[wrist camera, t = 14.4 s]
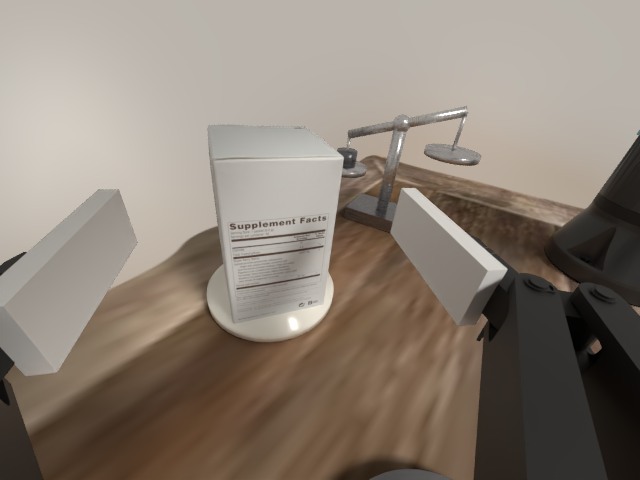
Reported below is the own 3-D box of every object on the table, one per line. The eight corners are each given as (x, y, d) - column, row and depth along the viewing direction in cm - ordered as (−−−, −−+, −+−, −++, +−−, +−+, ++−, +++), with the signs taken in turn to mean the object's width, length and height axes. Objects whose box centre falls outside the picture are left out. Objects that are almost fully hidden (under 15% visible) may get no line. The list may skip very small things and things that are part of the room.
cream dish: (351, 282, 32) (352, 273, 32) (287, 370, 23) (287, 361, 22) (263, 244, 37) (263, 236, 36) (179, 304, 27) (176, 294, 27)
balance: (450, 230, 45) (499, 108, 35) (443, 251, 40) (500, 113, 30) (331, 194, 53) (344, 86, 43) (312, 207, 48) (322, 87, 38)
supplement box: (223, 264, 31) (205, 122, 23) (299, 253, 34) (307, 124, 26) (230, 327, 24) (207, 155, 16) (325, 307, 27) (347, 153, 19)
